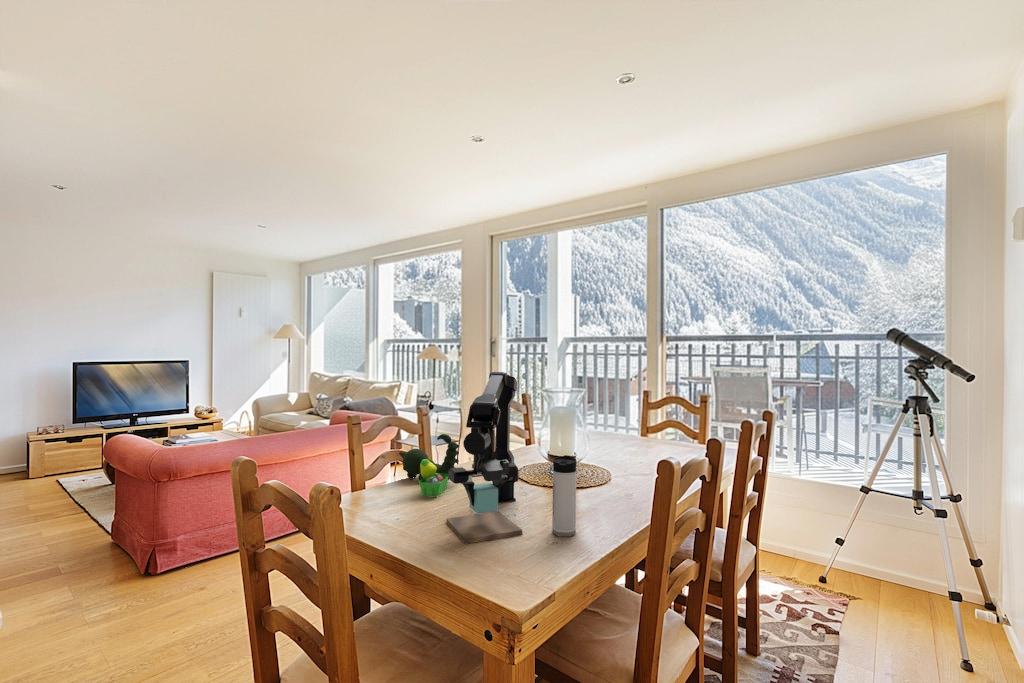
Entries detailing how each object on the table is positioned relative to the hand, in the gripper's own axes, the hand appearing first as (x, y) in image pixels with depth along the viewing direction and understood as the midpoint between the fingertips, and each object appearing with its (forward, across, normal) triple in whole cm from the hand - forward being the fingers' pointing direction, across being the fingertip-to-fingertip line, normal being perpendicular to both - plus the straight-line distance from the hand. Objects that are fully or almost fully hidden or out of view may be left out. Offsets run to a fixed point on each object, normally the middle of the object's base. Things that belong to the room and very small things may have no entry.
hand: (483, 504), depth 136 cm
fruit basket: (+7, -4, +37) cm, 38 cm away
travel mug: (+7, +19, -11) cm, 23 cm away
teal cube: (+1, 0, 0) cm, 1 cm away
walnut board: (+7, 0, 0) cm, 7 cm away
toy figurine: (+7, -2, +52) cm, 52 cm away
